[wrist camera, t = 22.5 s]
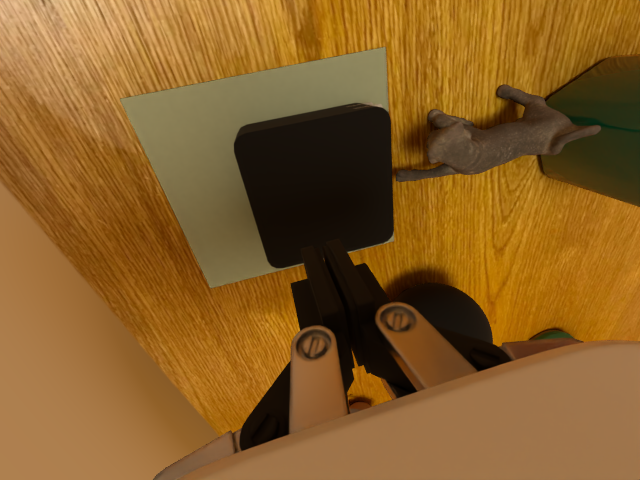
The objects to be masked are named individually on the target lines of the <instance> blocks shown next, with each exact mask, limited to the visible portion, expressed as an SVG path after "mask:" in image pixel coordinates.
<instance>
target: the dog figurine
mask: <svg viewBox="0 0 640 480" xmlns="http://www.w3.org/2000/svg"><path fill="white" fill-rule="evenodd" d="M497 95H498V96H499V97H501V98H503V99H504V98H505V99H510V100H513V101H514V102H517V103H519V104H521V105H523V106H524V107H525V110H524V114H523V117H522V118H519V119H518V120H516V122H510V123H504V124H500V125H496V126H494V127H491V128H489V129H486V130H480V129H477V128H475V127H472V126H473V125H474V124H473V122H471V121H468V120H466V119H464V118H459V117H455V116H449V115H446V114H444V113H443V112H442V111H440V110H437V109H434V110H432V111H431V112H430V113H429V116H428V120H429V121H430V122H433V124H434V126H435V127H436V128H438V129H439V130H434V131H432V132H431V133H430V134H429V135H428V138H427V139H428V142H427V148H428V152H427V156H428V159H429V161H430V163H436V162H443V163H444V164H442V165H440V166H438V167H436V168H432V169H429V170H417V169H413V170H411V171H407V170H400V171H398V173H397V174H396V181H399V182H403V181H416V180H420V179H425V178H434V177H441V176H446V175H452V174H464V175H471V174H479V173H482V172H485V171H487V170H489V169H491V168H493V167H495V166H498V165H501V164H504V163H507V162H509V161H511V160H513V159H515V158H518V157H520V156H522V155H539V154H541V155H556V154H558V153H560V152H561V150H562V148H563V146H564V144H566V143H568V142H570V141H573V140H576V139H579V138H582V137H587V136H591V135H595V134H597V133H598V132H599V131H600V130H601V127H600V126H599V125H592V126H576V125H574V124H573V123H572V122H571V121H570V119H569V118H568V117H566V116H565V115H564V114H562V113H560V112H559V111H556V110H554V109H552V108H550V107H548V106H547V105H546V103H545V100H544V98H542V97H540V96H536V95H531V94H528V93H525V92H523V91H521V90H519V89H515V88H512V87H510V86H508V85H502V86H500V87H499V88H498V92H497Z"/></svg>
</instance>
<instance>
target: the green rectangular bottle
mask: <svg viewBox="0 0 640 480" xmlns="http://www.w3.org/2000/svg"><path fill="white" fill-rule="evenodd" d="M545 103H546V105H547V106H548V107H550V108H552V109H554V110H556V111H559V112H560V113H562V114H564V115H565V116H566V117H568V118H569V119H570V121H571V122H572V123H573V124H574V125H576V126H592V125H599V126H600V127H601V130H600V131H599V132H598V133H597V134H595V135H591V136H587V137H582V138H579V139H576V140H573V141H570V142H568V143H566V144H564V146H563V148H562V150H561V152H560V153H558V154H556V155H541V154H540V157H541V162H542V167H543V172H544V173H545V174H546V175H547V176H548V177H549V178H553V179H556V180H559V181H562V182H565V183H568V184H571V185H574V186H577V187H580V188H583V189H586V190H589V191H592V192H595V193H598V194H602V195H605V196H608V197H611V198H614V199H617V200H620V201H623V202H626V203H629V204H632V205H635V206H638V207H640V54H634V55H620V56H614V57H610V58H607V59H605V60H604V61H602V62H601V63H599V64H598V65H596V66H595V67H593V68H592V69H590V70H589V71H587V72H586V73H585V74H583V75H582V76H580V77H579V78H577V79H576V80H574V81H573V82H571V83H570V84H568V85H567V86H565V87H564V88H562V89H561V90H559V91H558V92H557V93H555V94H554V95H552V96H551V97H549V98H548V100H547V101H546V102H545Z"/></svg>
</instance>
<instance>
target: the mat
mask: <svg viewBox="0 0 640 480" xmlns="http://www.w3.org/2000/svg"><path fill="white" fill-rule="evenodd" d="M120 101H121V103H122V105H123V107H124V109H125V111H126V113H127V116H128V118H129V120H130V122H131V124H132V126H133V128H134V130H135V132H136V134H137V136H138V138H139V141H140V143H141V145H142V147H143V149H144V151H145V153H146V155H147V157H148V159H149V161H150V163H151V166H152V168H153V170H154V172H155V174H156V176H157V178H158V180H159V182H160V184H161V186H162V188H163V191H164V193H165V195H166V197H167V199H168V201H169V203H170V205H171V207H172V209H173V211H174V213H175V216H176V218H177V220H178V222H179V224H180V226H181V228H182V230H183V232H184V234H185V236H186V238H187V241H188V243H189V245H190V247H191V249H192V251H193V253H194V255H195V257H196V259H197V261H198V264H199V266H200V268H201V270H202V272H203V274H204V276H205V278H206V280H207V282H208V284H209V286H210V288H214V287H218V286H222V285H226V284H230V283H234V282H237V281H241V280H245V279H249V278H253V277H257V276H261V275H265V274H268V273H272V272H276V271H280V270H284V269H288V268H292V267H296V266H299V265H303V264H304V263H302V264H298V265H294V266H290V267H286V268H274V267H272V266H271V265H270V264H269V263H268V261H267V258H266V254H265V251H264V248H263V245H262V241H261V238H260V235H259V232H258V229H257V225H256V222H255V219H254V216H253V212H252V209H251V206H250V203H249V199H248V196H247V193H246V190H245V187H244V183H243V180H242V177H241V174H240V170H239V167H238V164H237V161H236V157H235V154H234V142H235V139H236V136H237V133H238V131H239V129H240V128H241V127H243V126H245V125H247V124H252V123H257V122H262V121H267V120H272V119H277V118H282V117H287V116H292V115H297V114H302V113H307V112H312V111H317V110H322V109H327V108H332V107H337V106H342V105H347V104H352V103H368V102H372V103H373V105H375V104H381V105H382V107H383V108H384V109H385V110H386V111H387V112H388V113H389V111H388V88H387V64H386V47H382V48H377V49H372V50H366V51H361V52H356V53H351V54H346V55H341V56H336V57H331V58H326V59H321V60H315V61H310V62H305V63H300V64H295V65H290V66H285V67H280V68H275V69H269V70H264V71H259V72H254V73H249V74H244V75H239V76H234V77H229V78H224V79H218V80H213V81H208V82H203V83H198V84H193V85H188V86H183V87H178V88H173V89H167V90H162V91H157V92H152V93H147V94H142V95H137V96H132V97H127V98H122V99H120ZM392 241H394V231H393V236H392V237H391V238H390V239H389V241H387V242H385V243H389V242H392ZM385 243H382V244H385ZM378 245H381V244H378ZM374 246H377V245H374ZM370 247H373V246H370ZM366 248H369V247H366ZM362 249H365V248H362ZM358 250H361V249H358ZM358 250H354V251H358ZM354 251H350V252H354ZM350 252H347V253H350ZM323 259H324V258H323Z"/></svg>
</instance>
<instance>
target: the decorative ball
mask: <svg viewBox="0 0 640 480" xmlns="http://www.w3.org/2000/svg"><path fill="white" fill-rule="evenodd" d="M393 302H401V303H406V304H408V305H410V306H412V307H413V308H415V309H416V310H417V311H418V312H419V313H420V314H421V315H422V316H423V317H424V318H425V319H426V320H427V321H428V322H429V323H430V324H431V325H434V326H437V327H440V328H444V329H447V330H450V331H454V332H457V333H460V334H463V335H467V336H470V337H473V338H477V339H480V340H483V341H486V342H489V343H491V344H493V338H492V331H491V327H490V324H489V322H488V319H487V317H486V315H485V314H484V312H483V310H482V309H481V308H480V306H479V305H478V304H477V303H476V302H475V301H474V300H473V299H472V298H471V297H469V296H468V295H467V294H465V293H464V292H462V291H460V290H459V289H457V288H454V287H452V286H449V285H445V284H439V283H424V284H419V285H416V286H413V287H411V288H409V289H407V290H405V291H404V292H402V293H401V294H400V295H399V296H398V297H397V298H396V299H395V300H394V301H393Z"/></svg>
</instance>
